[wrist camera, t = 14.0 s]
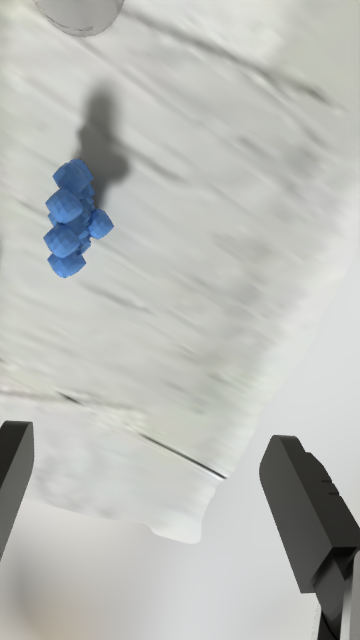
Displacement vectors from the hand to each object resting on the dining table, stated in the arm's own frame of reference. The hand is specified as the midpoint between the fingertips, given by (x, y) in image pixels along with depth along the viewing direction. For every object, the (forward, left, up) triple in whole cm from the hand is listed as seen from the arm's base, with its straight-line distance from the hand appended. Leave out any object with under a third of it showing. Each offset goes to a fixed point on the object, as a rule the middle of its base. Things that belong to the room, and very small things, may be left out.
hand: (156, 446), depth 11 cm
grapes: (-1, -7, -34) cm, 34 cm away
